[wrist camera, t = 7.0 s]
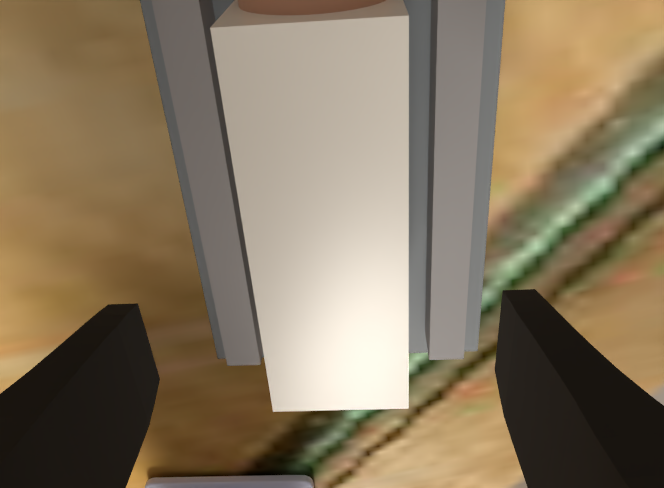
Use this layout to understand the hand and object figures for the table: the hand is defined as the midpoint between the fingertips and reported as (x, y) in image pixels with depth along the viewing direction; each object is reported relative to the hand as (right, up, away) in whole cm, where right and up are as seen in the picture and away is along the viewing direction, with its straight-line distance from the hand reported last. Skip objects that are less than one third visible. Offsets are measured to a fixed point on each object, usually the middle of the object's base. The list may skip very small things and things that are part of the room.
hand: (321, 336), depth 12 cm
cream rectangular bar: (0, +4, +7) cm, 8 cm away
